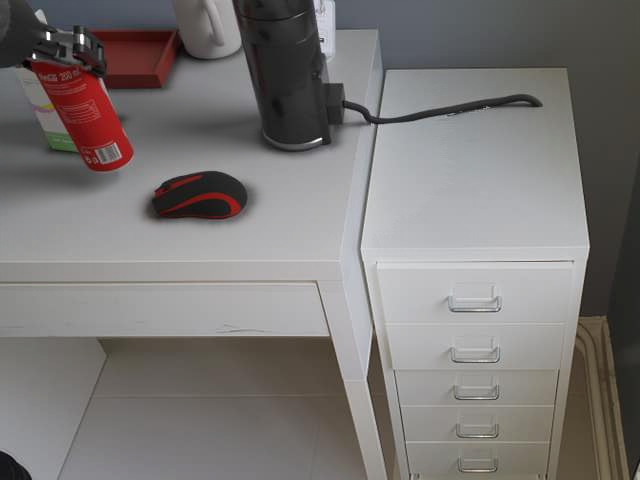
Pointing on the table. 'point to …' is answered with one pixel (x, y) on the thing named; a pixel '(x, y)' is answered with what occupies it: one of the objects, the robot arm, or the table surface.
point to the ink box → (46, 106)
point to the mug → (208, 27)
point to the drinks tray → (138, 56)
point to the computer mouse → (200, 196)
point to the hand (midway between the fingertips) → (74, 68)
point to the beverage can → (86, 116)
